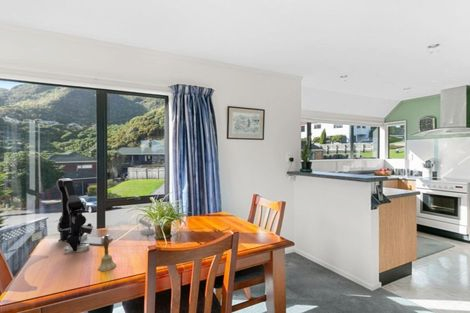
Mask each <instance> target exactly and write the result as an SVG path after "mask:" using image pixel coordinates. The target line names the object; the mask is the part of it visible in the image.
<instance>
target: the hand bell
mask: <svg viewBox="0 0 470 313" xmlns="http://www.w3.org/2000/svg"><path fill="white" fill-rule="evenodd" d="M109 243H110V242H109V239H108V237H107V234H105V235H104V240H103V245H102V246H103V247H104V255H103V256H102V257H101V261H100V264H99V266H98V267H97V270H98V271H101V272H105V271H111V270H113V269H115V268H116V267H117V264H116V262H114V261H113V258H112V255H111V254H109V245H110V244H109Z"/></svg>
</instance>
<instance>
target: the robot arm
mask: <svg viewBox="0 0 470 313" xmlns="http://www.w3.org/2000/svg"><path fill="white" fill-rule="evenodd" d="M55 185H56V187H57V189H58V191H59V192H60V199H61V216H60V218H59V220H58V223H57V231H58V232H59V239H58V241H59V242H65V243H67V244H68V246H71V247H72V249H73V250H74V252H73V253H77V252H76V251H77V245H81V244H80V242H81V237H82V236H83V234H84V233H87V235H91V233H92V231H93V229H94V226H93V225H92V223H87V224H86V222H87V218H86V216H85V215H83V213H86V211H85V210H86V207H85V203H84V202H83V201H82V199H81V197H79V196H77V193H76V192H77V191H76V190H75V187H74V179H71V178H59V179H58V180H56V184H55Z"/></svg>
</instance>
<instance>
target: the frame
mask: <svg viewBox="0 0 470 313" xmlns="http://www.w3.org/2000/svg"><path fill="white" fill-rule="evenodd" d="M63 248H64V249H63V251H64V252H63V253H64V254H72V253H79V252H86V251H87V252H88V251H89V250H90V245H89V244H80V245H77V251H76V252H74V250H73V249H72V247H71V246H70V245H67V246H65V247H63Z"/></svg>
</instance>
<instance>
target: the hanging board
mask: <svg viewBox="0 0 470 313" xmlns="http://www.w3.org/2000/svg"><path fill="white" fill-rule="evenodd" d="M106 235H107V237H108V239H109V241H110V242H111V241H113V239H114V238H113V237H111V234H106ZM104 236H105V235H104ZM104 236H102V237H100V236H98V237H96V236H88V234H87V233H84V234H83V236H82V237H81V242H80V245H82V244H89V246H100V245H101V246H104V245H103V240H104Z"/></svg>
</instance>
